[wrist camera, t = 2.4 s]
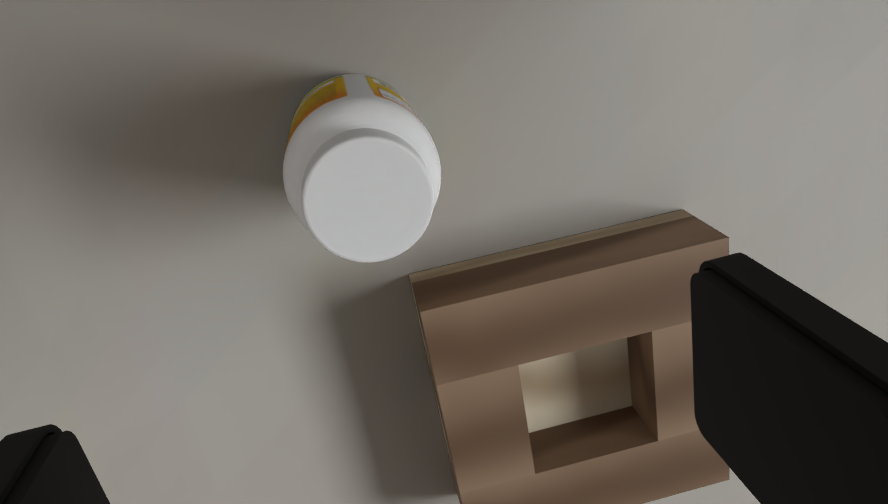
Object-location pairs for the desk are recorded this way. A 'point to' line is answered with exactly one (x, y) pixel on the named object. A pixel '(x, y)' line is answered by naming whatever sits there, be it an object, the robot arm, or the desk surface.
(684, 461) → the socket block
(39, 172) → the desk surface
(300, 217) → the supplement bottle
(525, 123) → the desk surface
